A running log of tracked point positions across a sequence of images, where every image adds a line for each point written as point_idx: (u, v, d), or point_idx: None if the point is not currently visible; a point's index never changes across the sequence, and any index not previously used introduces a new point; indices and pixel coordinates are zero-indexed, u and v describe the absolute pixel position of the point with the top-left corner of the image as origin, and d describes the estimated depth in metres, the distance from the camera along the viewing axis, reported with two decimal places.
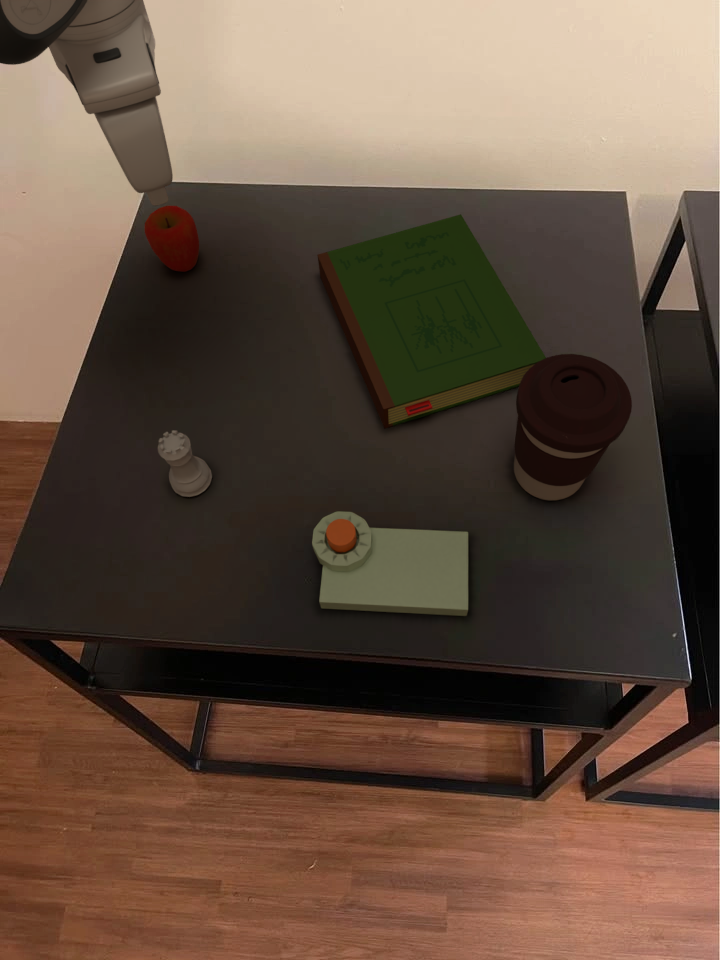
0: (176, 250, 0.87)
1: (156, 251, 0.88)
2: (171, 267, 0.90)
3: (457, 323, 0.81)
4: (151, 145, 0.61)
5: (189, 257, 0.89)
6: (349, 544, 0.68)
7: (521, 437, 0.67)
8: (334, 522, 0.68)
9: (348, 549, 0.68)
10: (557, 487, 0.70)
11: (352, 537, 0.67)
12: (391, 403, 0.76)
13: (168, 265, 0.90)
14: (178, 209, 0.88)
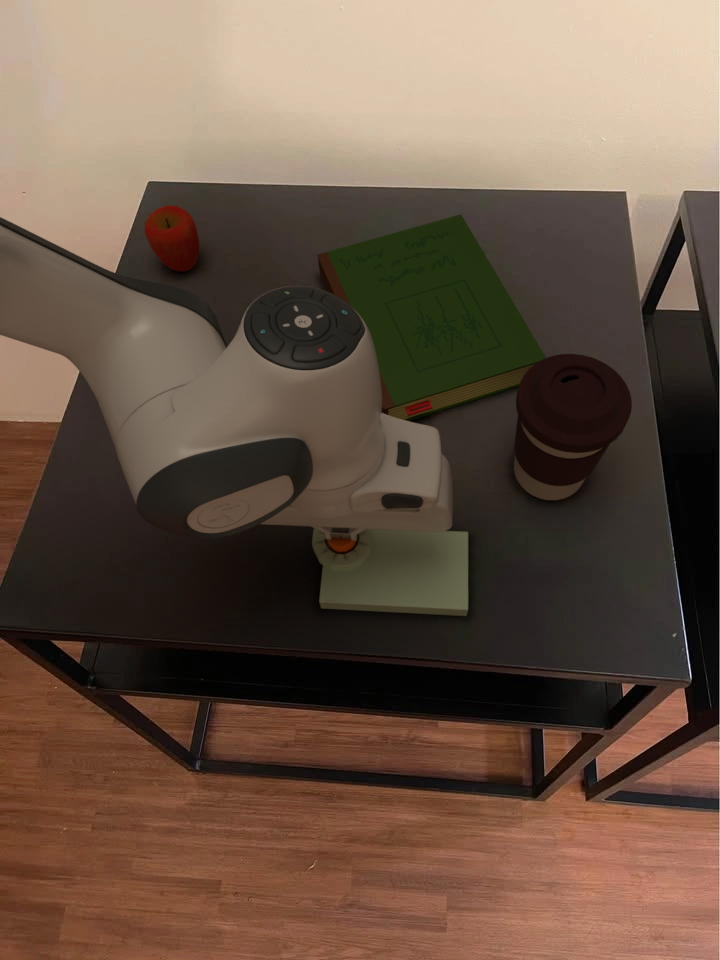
0: (176, 250, 0.87)
1: (156, 251, 0.88)
2: (171, 267, 0.90)
3: (457, 323, 0.81)
4: (451, 481, 0.60)
5: (189, 257, 0.89)
6: (349, 545, 0.68)
7: (521, 437, 0.67)
8: None
9: (348, 550, 0.68)
10: (557, 487, 0.70)
11: None
12: (391, 403, 0.76)
13: (168, 265, 0.90)
14: (178, 209, 0.88)
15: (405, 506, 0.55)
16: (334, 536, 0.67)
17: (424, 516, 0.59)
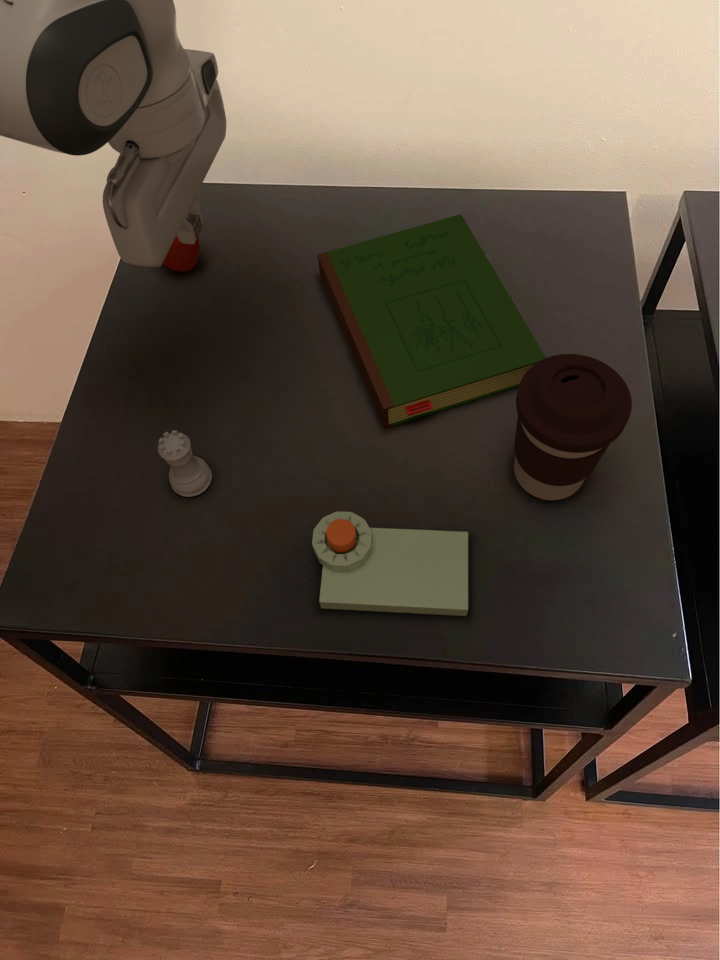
0: (176, 250, 0.87)
1: None
2: (171, 267, 0.90)
3: (457, 323, 0.81)
4: None
5: (189, 257, 0.89)
6: (349, 544, 0.68)
7: (521, 437, 0.67)
8: (334, 522, 0.68)
9: (348, 549, 0.68)
10: (557, 487, 0.70)
11: (352, 537, 0.67)
12: (391, 403, 0.76)
13: (168, 265, 0.90)
14: None
15: (211, 82, 0.65)
16: (195, 230, 0.73)
17: (214, 117, 0.70)
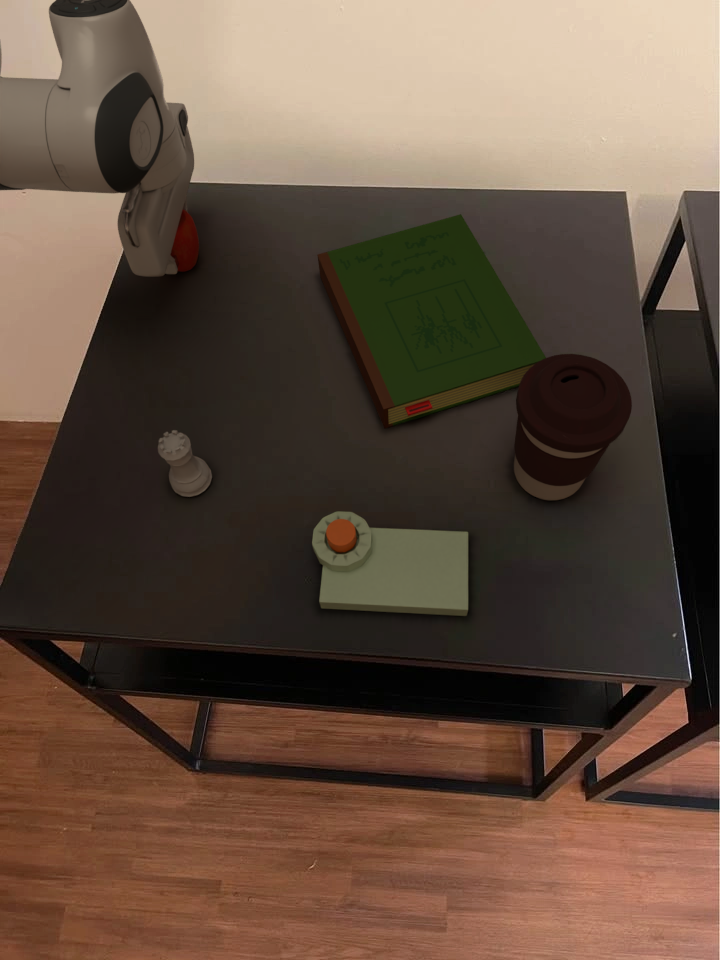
0: (176, 250, 0.87)
1: None
2: None
3: (457, 323, 0.81)
4: None
5: (189, 257, 0.89)
6: (349, 544, 0.68)
7: (521, 437, 0.67)
8: (334, 522, 0.68)
9: (348, 549, 0.68)
10: (557, 487, 0.70)
11: (352, 537, 0.67)
12: (391, 403, 0.76)
13: None
14: None
15: (185, 126, 0.82)
16: (176, 262, 0.88)
17: (186, 153, 0.87)
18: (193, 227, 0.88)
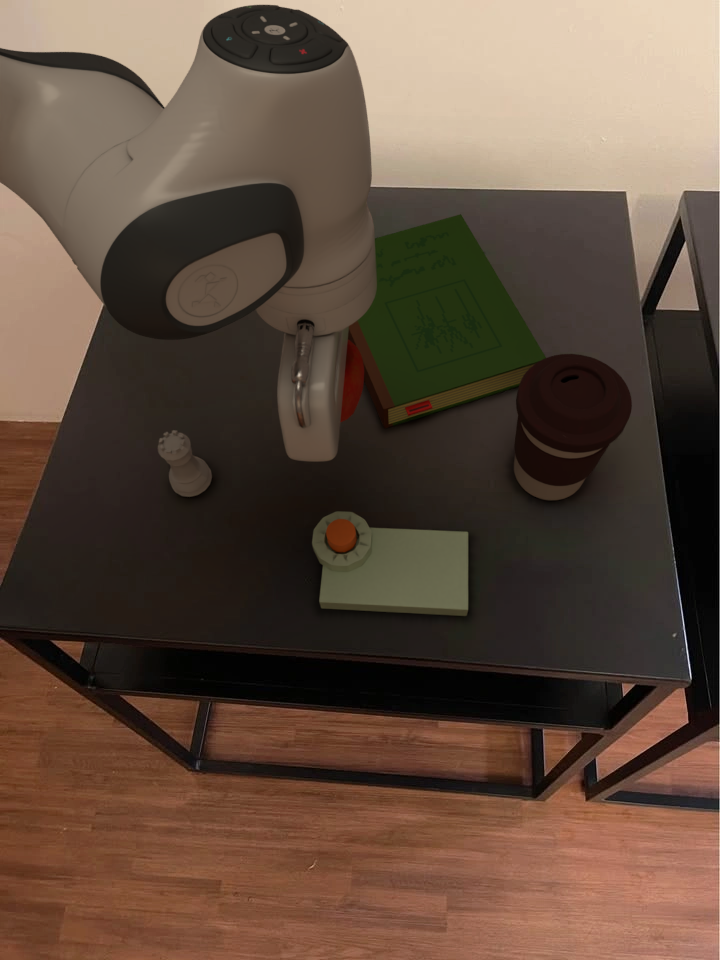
0: None
1: None
2: None
3: (457, 323, 0.81)
4: None
5: (351, 408, 0.59)
6: (349, 544, 0.68)
7: (521, 437, 0.67)
8: (334, 522, 0.68)
9: (348, 549, 0.68)
10: (557, 487, 0.70)
11: (352, 537, 0.67)
12: (391, 403, 0.76)
13: None
14: None
15: None
16: None
17: None
18: (362, 366, 0.57)
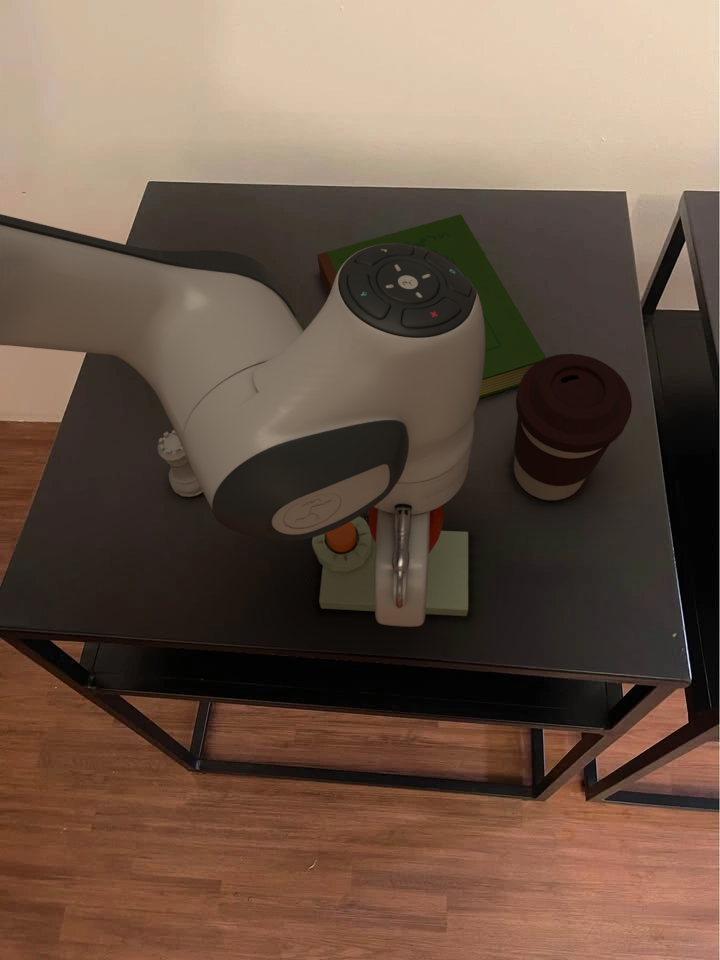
0: None
1: None
2: None
3: None
4: None
5: None
6: (349, 544, 0.68)
7: (521, 437, 0.67)
8: None
9: (348, 549, 0.68)
10: (557, 487, 0.70)
11: (352, 537, 0.67)
12: None
13: None
14: None
15: None
16: None
17: None
18: (442, 516, 0.58)
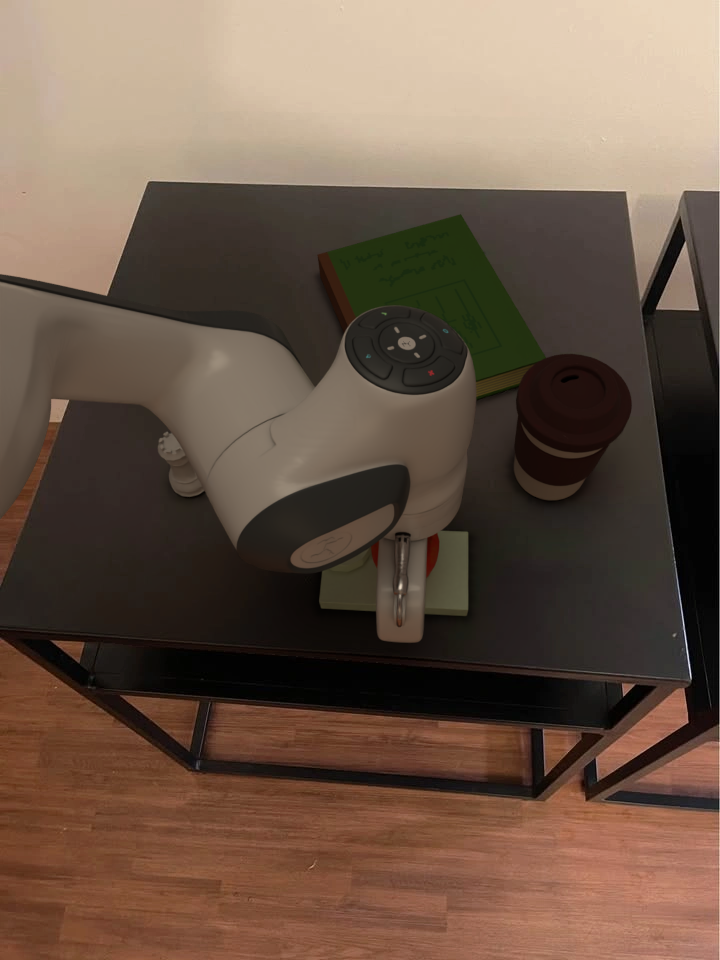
0: None
1: None
2: None
3: (457, 323, 0.81)
4: None
5: (426, 577, 0.65)
6: None
7: (521, 437, 0.67)
8: None
9: None
10: (557, 487, 0.70)
11: None
12: None
13: None
14: None
15: None
16: None
17: None
18: None
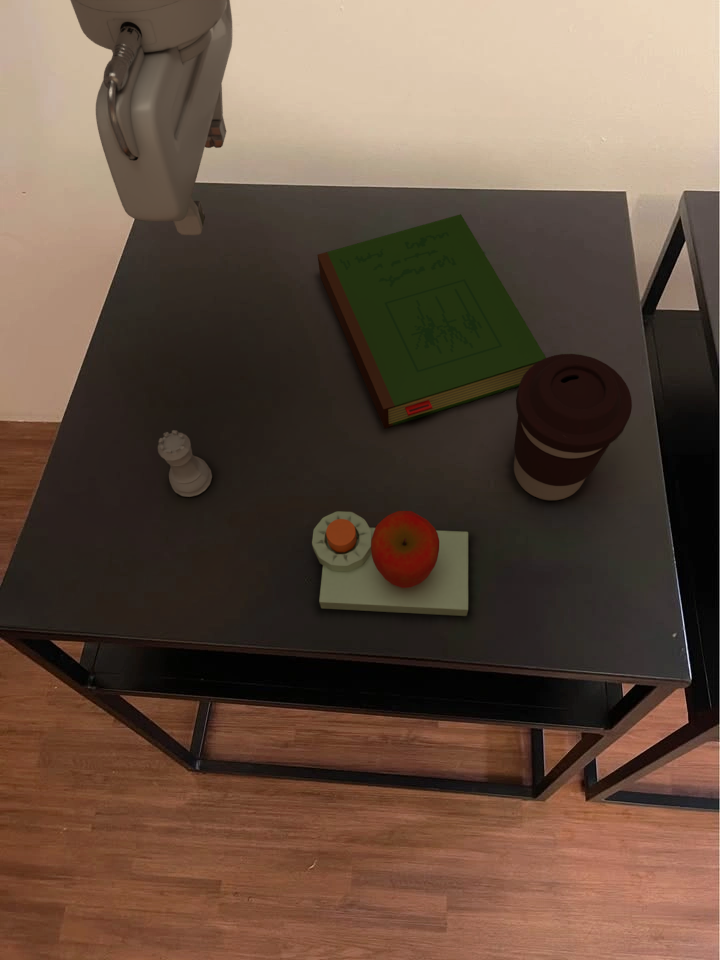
0: (416, 579, 0.63)
1: (386, 576, 0.64)
2: (398, 586, 0.66)
3: (457, 323, 0.81)
4: None
5: (426, 577, 0.65)
6: (349, 544, 0.68)
7: (521, 437, 0.67)
8: (334, 522, 0.68)
9: (348, 549, 0.68)
10: (557, 487, 0.70)
11: (352, 537, 0.67)
12: (391, 403, 0.76)
13: None
14: (417, 520, 0.64)
15: None
16: (201, 214, 0.50)
17: None
18: None
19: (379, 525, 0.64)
